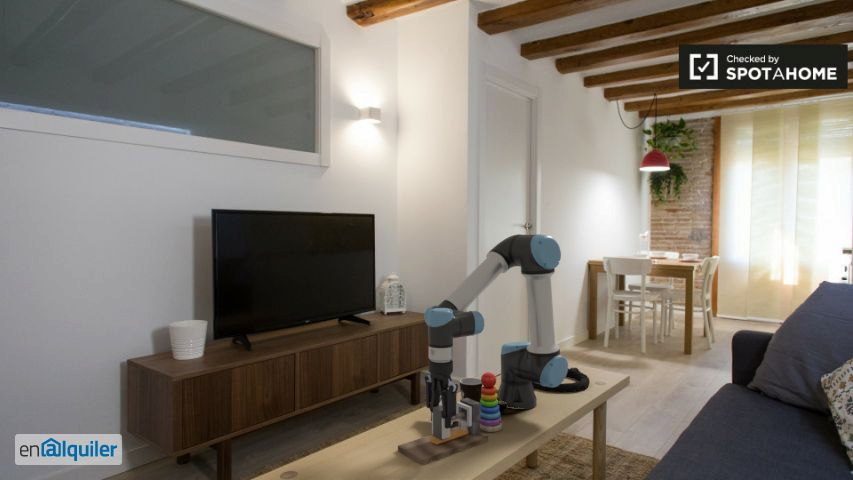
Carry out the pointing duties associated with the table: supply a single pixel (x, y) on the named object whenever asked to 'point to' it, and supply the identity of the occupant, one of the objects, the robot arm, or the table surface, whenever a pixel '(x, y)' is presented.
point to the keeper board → (429, 451)
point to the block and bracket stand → (464, 423)
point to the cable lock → (568, 386)
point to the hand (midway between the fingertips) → (440, 435)
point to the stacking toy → (489, 405)
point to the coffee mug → (471, 388)
